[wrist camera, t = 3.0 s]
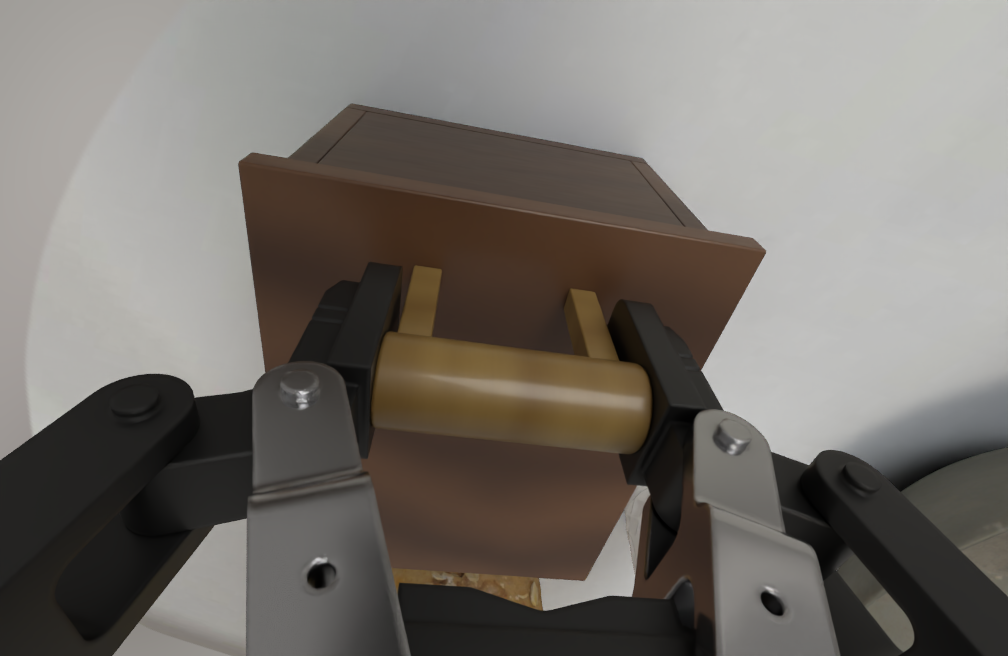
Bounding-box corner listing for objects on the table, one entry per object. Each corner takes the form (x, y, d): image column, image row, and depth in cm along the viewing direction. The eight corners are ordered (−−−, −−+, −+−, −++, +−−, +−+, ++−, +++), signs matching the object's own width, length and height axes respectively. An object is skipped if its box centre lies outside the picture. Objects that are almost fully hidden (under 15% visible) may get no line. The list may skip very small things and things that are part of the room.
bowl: (819, 620, 48) (873, 722, 42) (726, 480, 35) (784, 599, 28) (1155, 526, 40) (1290, 635, 33) (1210, 291, 26) (1461, 397, 19)
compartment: (350, 102, 19) (255, 184, 11) (643, 158, 21) (739, 263, 13) (349, 385, 28) (296, 542, 20) (556, 409, 30) (581, 562, 22)
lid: (250, 150, 11) (84, 267, 6) (753, 237, 13) (905, 379, 8) (295, 543, 20) (240, 705, 16) (582, 563, 22) (607, 716, 17)
